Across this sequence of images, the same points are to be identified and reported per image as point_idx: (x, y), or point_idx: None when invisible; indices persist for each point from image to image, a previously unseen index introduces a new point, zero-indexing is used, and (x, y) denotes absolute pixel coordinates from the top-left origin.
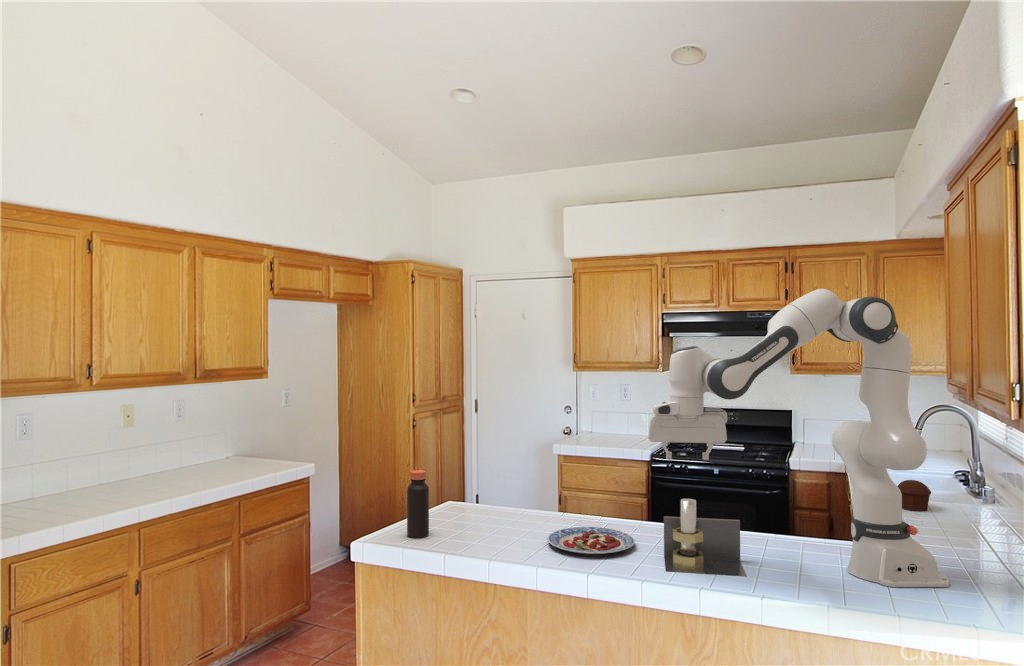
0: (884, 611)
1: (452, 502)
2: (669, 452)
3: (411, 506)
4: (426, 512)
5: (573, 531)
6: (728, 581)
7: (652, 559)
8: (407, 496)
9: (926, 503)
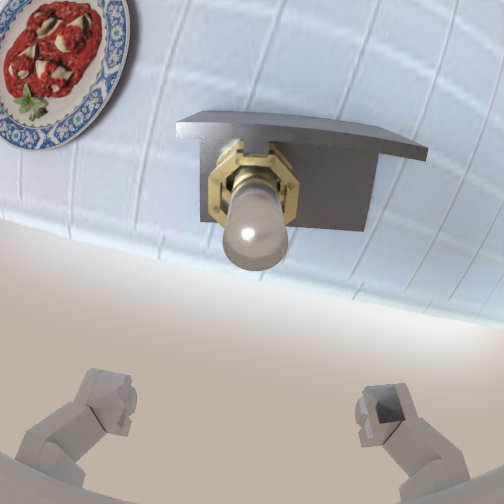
0: (474, 307)
1: None
2: (108, 427)
3: None
4: None
5: (13, 12)
6: (325, 230)
7: (174, 112)
8: None
9: None
